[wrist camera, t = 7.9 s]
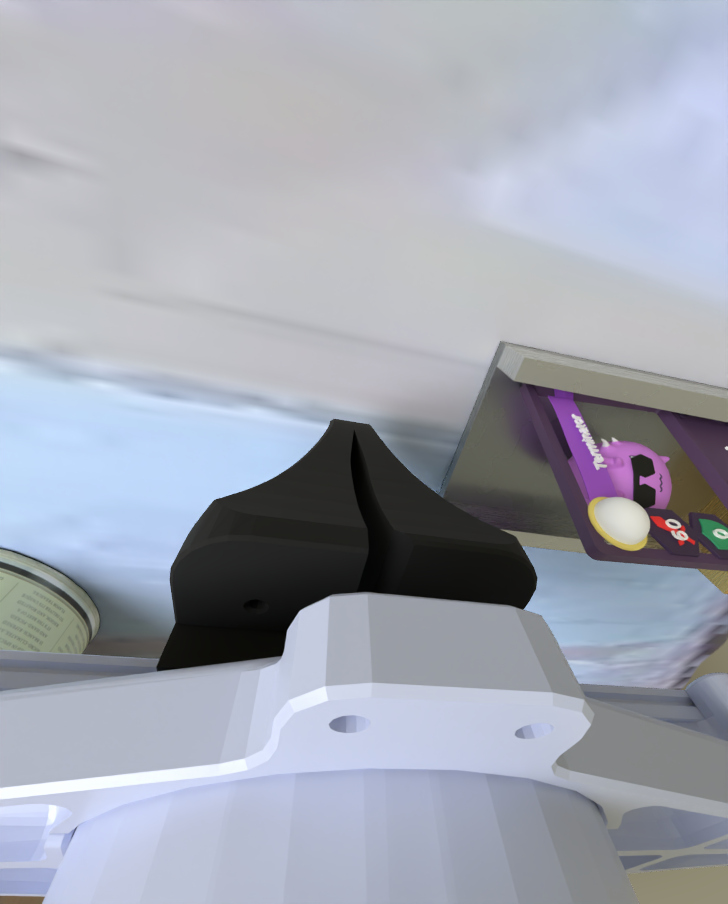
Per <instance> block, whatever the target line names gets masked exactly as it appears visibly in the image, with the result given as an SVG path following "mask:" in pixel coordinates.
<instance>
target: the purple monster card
mask: <svg viewBox="0 0 728 904" xmlns="http://www.w3.org/2000/svg"><path fill="white" fill-rule="evenodd" d="M520 393H521V395H522V397H523V400H524V402H525V405H526V407H527V410H528V412H529V415H530V417H531V420H532V422H533V424H534V427H535V429H536V432H537V434H538V437H539V439H540V442H541V444H542V447H543V449H544V451H545V454H546V456H547V459H548V461H549V464H550V466H551V469H552V471H553V474H554V476H555V479H556V481H557V483H558V486H559V488H560V491H561V493H562V496H563V498H564V501H565V503H566V506H567V508H568V510H569V513H570V515H571V518H572V520H573V523H574V525H575V528H576V530H577V533H578V535H579V537H580V540H581V542H582V545H583V547H584V550H585V552H586V553H587V554H588V555H589V556H590V557H591V558H593V559H595V560H600V561H612V562H624V563H636V564H647V565H659V566H671V567H683V568H695V569H707V570H719V571H728V525H727V524H725V523H724V522H723V521H722V520H721V519H719V518H718V517H717V516H716V515H714V514H704V513H695V512H690V513H688V515H689V525H688V524H687V523H686V522H685V521H683V520H682V519H681V518H680V517H679V516H678V515H677V514H676V513H674V512H673V511H672V510H667V509H665V508H666V507H667V505H668V502H669V500H670V496H671V490H672V483H671V478H670V474H669V471H668V469H667V467H666V465H665V463H666V462H668V461H669V460H670V458H669V457H666V456H659V455H657V454H656V453H655V452H654V451H652V450H651V449H650V448H648V447H646V446H644V445H642V444H639V443H635V442H630V441H618V440H617V439H615V438H613V437H612V441H609V442H607V441H606V440H604V439H601V440H602V442H603V443H597V444H595V442H593V441H594V440H593V439H592V437H591V434H590V432H589V430H588V428H587V425H586V423H585V421H584V419H583V417H582V415H581V413H580V411H579V409H578V407H577V406H576V404H575V402H574V401H578V402H585V403H592V404H599V405H606V406H613V407H620V408H627V409H634V410H640V411H647V412H654V413H656V414H657V415H658V416H659V418H660V419H661V420H662V422H663V423H664V424H665V426H666V427H667V429H668V430H669V431H670V433H671V434H672V435H673V437H674V438H675V439H676V441H677V442H678V443H679V445H680V446H681V448H682V449H683V450H684V452H685V453H686V454H687V456H688V457H689V458H690V460H691V461H692V462H693V464H694V465H695V467H696V468H697V469H698V471H699V472H700V473H701V475H702V476H703V477H704V479H705V480H706V481H707V483H708V484H709V486H710V487H711V488H712V490H713V491H714V492H715V494H716V495H717V496H718V498H719V499H720V500H721V502H722V503H723V505H724V506H725V507H726V509H727V510H728V422H723V421H718V420H713V419H708V418H703V417H698V416H692V415H687V414H682V413H677V412H672V411H667V410H661V409H656V408H651V407H646V406H641V405H636V404H630V403H625V402H620V401H615V400H610V399H604V398H599V397H594V396H589V395H584V394H579V393H573V392H568V391H563V390H558V389H553V388H548V387H542V386H537V385H532V384H527V383H523V385H522V386H521V388H520ZM539 396H544V397H548V398H549V400H550V402H551V404H552V406H553V408H554V410H555V412H556V415H557V417H558V419H559V422H560V424H561V427H562V430H563V432H564V435H565V438H566V440H567V443H568V445H569V448H570V450H571V453H572V455H573V456H572V457H571V458H570V459H569V460H568V461H567V458H566V456H565V454H564V452H563V450H562V447H561V445H560V443H559V441H558V438H557V436H556V434H555V432H554V430H553V427H552V425H551V423H550V421H549V418H548V416H547V414H546V412H545V410H544V407H543V405H542V403H541V401H540V399H539ZM647 534H649V535H651V536H652V537H653V538H654V539H655V540H656V541H657V542H658V543H659V544H660V545H661V546H662V547H663V548H664V549H665V550H663V549H652V548H643V547H644V546H645V545H646V543H647ZM603 539H605V540H607V541H608V542H609V543H611V544H613V545H609V544H607V543H606V542H604V540H603ZM699 542H700V543H701V544H702V545H703V546H704V547H705V548H706V549H707V550H708V551H710V552H711V553H712V554H707V553H700V551H699Z"/></svg>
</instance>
